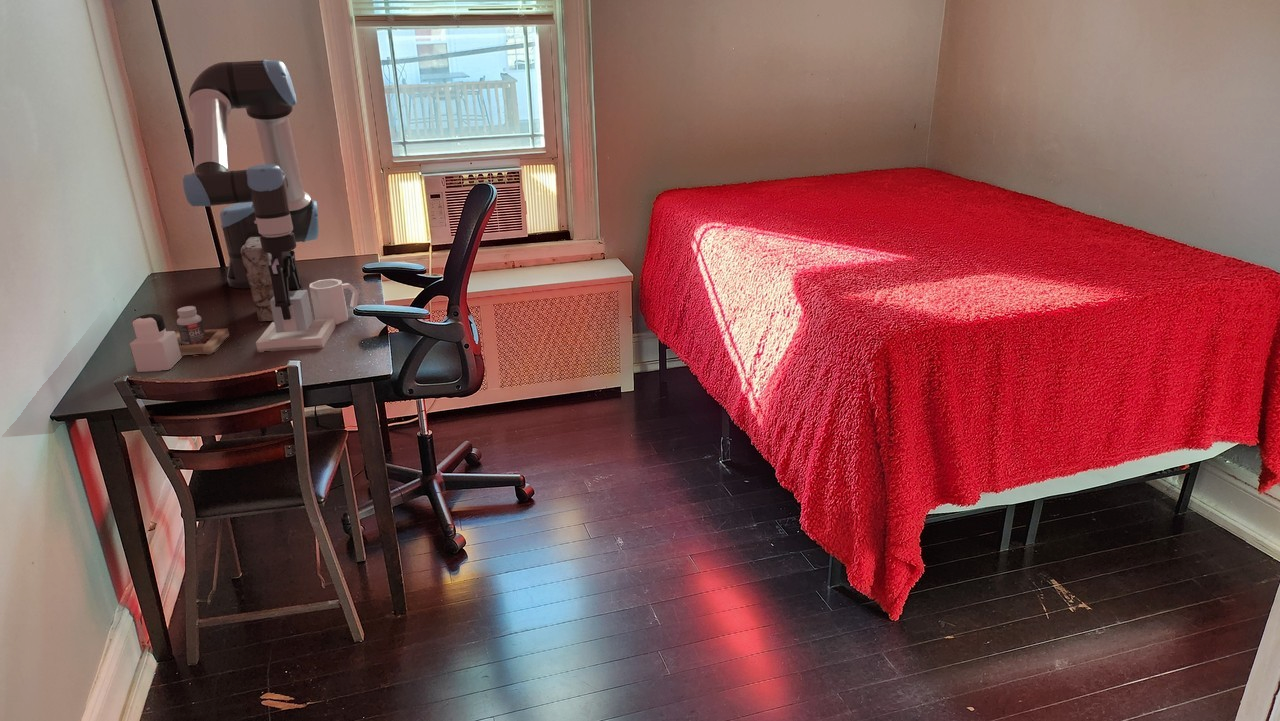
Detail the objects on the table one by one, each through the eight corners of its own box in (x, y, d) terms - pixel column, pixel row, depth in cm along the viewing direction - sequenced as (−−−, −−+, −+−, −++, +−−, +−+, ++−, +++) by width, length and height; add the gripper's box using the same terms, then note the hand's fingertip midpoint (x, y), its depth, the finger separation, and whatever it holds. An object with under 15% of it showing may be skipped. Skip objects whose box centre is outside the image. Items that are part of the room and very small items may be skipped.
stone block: (285, 320, 219) (269, 245, 211) (256, 324, 216) (239, 248, 208) (285, 304, 230) (270, 233, 222) (258, 308, 228) (242, 236, 220)
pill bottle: (196, 351, 200) (186, 313, 196) (178, 349, 201) (168, 311, 197) (213, 343, 204) (203, 305, 201) (195, 341, 206) (185, 304, 202)
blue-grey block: (283, 322, 207) (277, 291, 203) (313, 320, 207) (307, 289, 204) (276, 332, 200) (269, 300, 197) (306, 330, 201) (300, 298, 198)
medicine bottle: (151, 360, 195) (137, 312, 191) (182, 358, 196) (170, 310, 191) (137, 372, 189) (122, 323, 184) (169, 371, 189) (156, 321, 185)
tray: (274, 331, 211) (272, 322, 210) (335, 327, 212) (333, 318, 211) (257, 352, 198) (255, 342, 197) (323, 347, 200) (321, 338, 199)
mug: (321, 328, 212) (314, 291, 208) (310, 319, 219) (303, 283, 215) (367, 317, 219) (361, 281, 215) (355, 308, 225) (349, 273, 221)
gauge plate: (179, 339, 208) (177, 331, 207) (229, 335, 209) (227, 328, 208) (159, 357, 197) (157, 350, 196) (213, 354, 198) (211, 346, 197)
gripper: (271, 224, 203) (289, 312, 212) (246, 245, 185) (267, 341, 194) (303, 222, 204) (320, 310, 213) (281, 243, 186) (300, 339, 195)
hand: (295, 325), depth 204 cm, fingers closed on blue-grey block, 7 cm apart
